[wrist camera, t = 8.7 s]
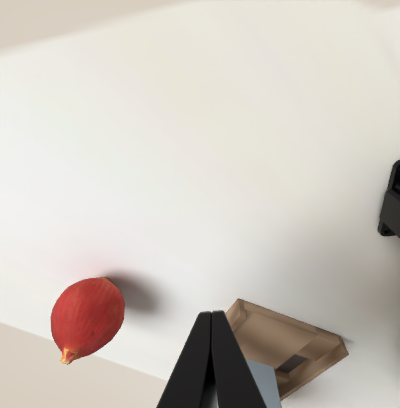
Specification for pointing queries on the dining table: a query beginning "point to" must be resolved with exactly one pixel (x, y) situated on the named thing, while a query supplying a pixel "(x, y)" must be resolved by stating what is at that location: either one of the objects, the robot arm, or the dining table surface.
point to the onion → (86, 317)
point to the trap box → (284, 345)
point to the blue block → (265, 383)
